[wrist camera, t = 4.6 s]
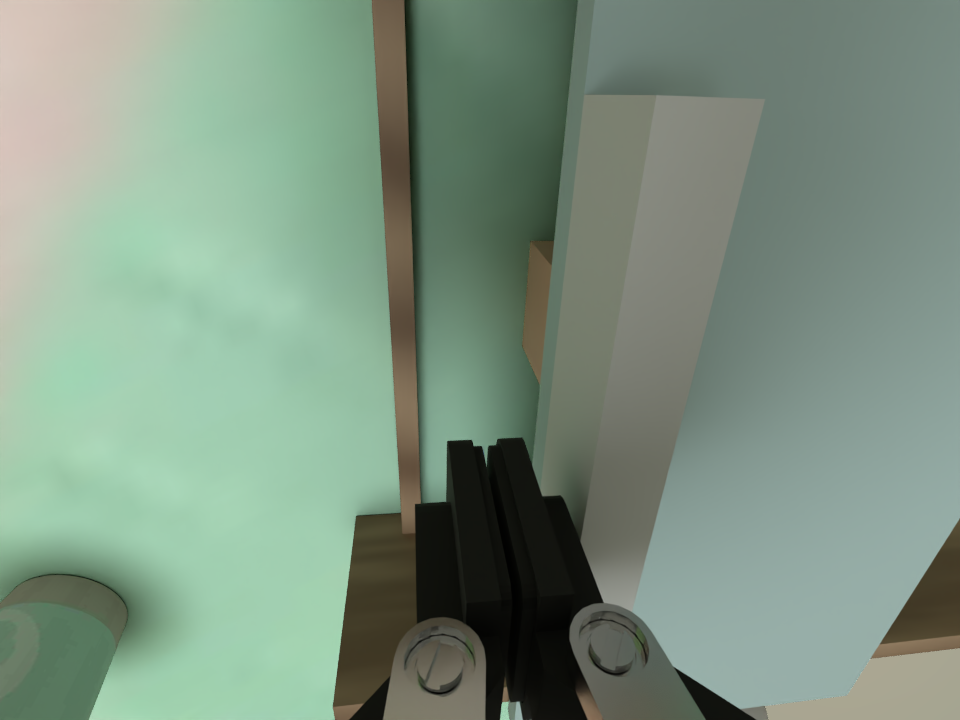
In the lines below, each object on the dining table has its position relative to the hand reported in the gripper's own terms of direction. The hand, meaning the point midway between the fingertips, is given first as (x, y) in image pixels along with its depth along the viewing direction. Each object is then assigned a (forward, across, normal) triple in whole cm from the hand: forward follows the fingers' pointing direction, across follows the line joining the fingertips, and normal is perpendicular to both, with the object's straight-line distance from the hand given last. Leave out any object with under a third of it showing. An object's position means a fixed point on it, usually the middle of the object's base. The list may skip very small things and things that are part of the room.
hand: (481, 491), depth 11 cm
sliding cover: (+2, -9, 0) cm, 9 cm away
